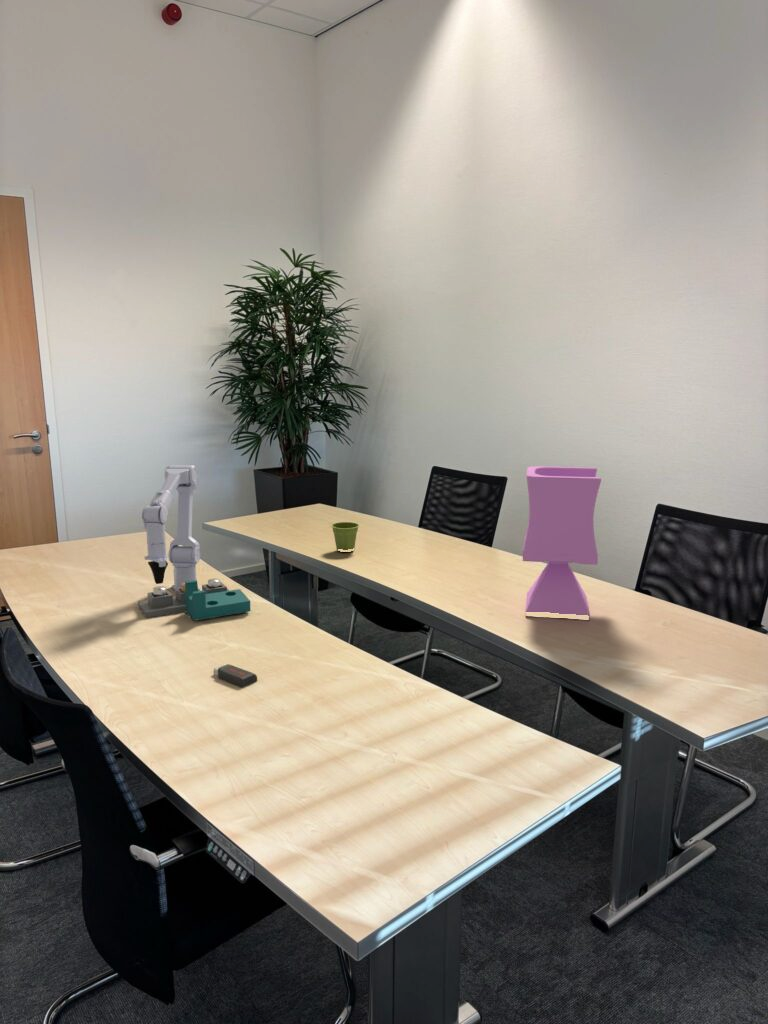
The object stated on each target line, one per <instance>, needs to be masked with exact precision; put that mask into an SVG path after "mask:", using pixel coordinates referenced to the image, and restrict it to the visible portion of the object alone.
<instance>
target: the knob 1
mask: <svg viewBox="0 0 768 1024" xmlns="http://www.w3.org/2000/svg"><path fill="white" fill-rule="evenodd" d="M152 590H153V591H152V592H153V594H154V597H158V596H165V595H166V590H167V586H165V585H164V586H163V585H161V586H159V585H158V586H155V587H153V588H152Z"/></svg>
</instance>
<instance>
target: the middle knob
mask: <svg viewBox="0 0 768 1024" xmlns="http://www.w3.org/2000/svg"><path fill="white" fill-rule="evenodd" d="M181 592H182V593H185V583H182V584H181Z"/></svg>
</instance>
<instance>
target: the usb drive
mask: <svg viewBox="0 0 768 1024" xmlns="http://www.w3.org/2000/svg"><path fill="white" fill-rule="evenodd" d="M213 675H214V676H217V677H218V679H219V680H222V681H224V682H225V683H229V684H231V685H233V686H236V687H239V688H245V687H247V686H250V685H251V684H254V683H256V682H258V677H257V674H256V673H254V672H252V671H248V670H246V669H243V668H241V667H238V666H234V665H232V664H229V663H228V664H225V665H224V664H222V665H220V666H219V665H218V666H217V667H214V668H213Z"/></svg>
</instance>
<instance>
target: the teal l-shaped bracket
mask: <svg viewBox="0 0 768 1024" xmlns="http://www.w3.org/2000/svg"><path fill="white" fill-rule="evenodd" d="M198 587H199V586H198V580H197V579H196V580H192V581H185V599H186V612H185V613H186V614H187V616H188V617H189V616H190V617H191V618H192V619H193V620H194V621H199V620H206V619H212V618H217V617H218V618H219V617H225V616H230V615H236V614H242V613H249V612H251V599H249V598H248V596H247V595H246V594H245V592H243V591H242V590H241V589H240V588H237V589H232V590H230V591H223V592H217V593H210V594H205V591H204V590H202V589H201V590H200V591H198ZM190 617H189V618H190Z"/></svg>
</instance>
